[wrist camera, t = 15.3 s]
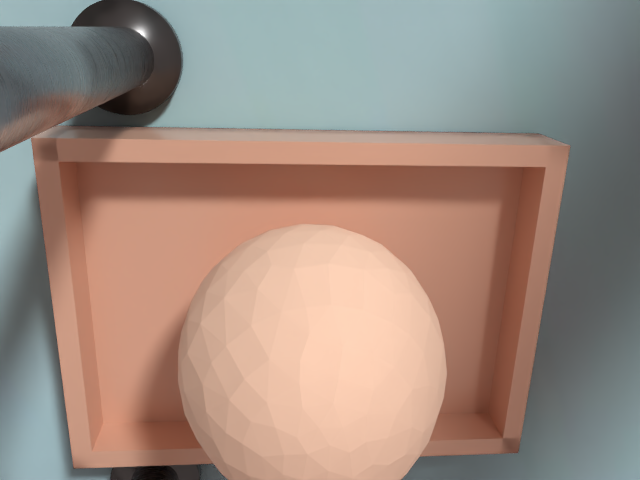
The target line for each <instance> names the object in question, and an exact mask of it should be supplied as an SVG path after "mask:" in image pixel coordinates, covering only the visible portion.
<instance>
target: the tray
mask: <svg viewBox="0 0 640 480" xmlns="http://www.w3.org/2000/svg"><path fill="white" fill-rule="evenodd" d="M31 141H32V149H33V157H34V165H35V172H36V180H37V188H38V196H39V203H40V211H41V219H42V227H43V235H44V242H45V250H46V258H47V266H48V273H49V281H50V289H51V297H52V304H53V312H54V320H55V328H56V335H57V343H58V351H59V359H60V366H61V374H62V382H63V390H64V398H65V405H66V413H67V421H68V429H69V436H70V444H71V452H72V460H73V467H74V469H76V468H105V467H133V466H162V465H190V464H213V462H212V461H211V460H210V458H209V457H208V455H207V454H206V452H205V451H204V450H203V448H202V447H201V445H200V444H199V442H198V441H197V439H196V437H195V435H194V433H193V431H192V429H191V427H190V424H189V422H188V420H187V418H186V416H185V414H184V409H183V404H182V399H181V394H180V389H179V384H178V349H179V343H180V336H181V331H182V328H183V325H184V322H185V319H186V316H187V313H188V310H189V307H190V304H191V301H192V299H193V298H194V296H195V294H196V292H197V290H198V288H199V286H200V284H201V283H202V281H203V280H204V279H205V277H206V276H207V275H208V273H209V272H210V271H211V270H212V268H213V267H214V266H215V265H216V264H218V263H219V262H220V261H221V260H222V259H223V258H224V257H225V256H227V255H228V254H229V253H230V252H231V251H233V250H234V249H235V248H236V247H238V246H239V245H240V244H241V243H243V242H246V241H248V240H250V239H252V238H254V237H256V236H259V235H261V234H263V233H265V232H267V231H269V230H273V229H278V228H283V227H288V226H293V225H298V224H315V225H333V226H336V227H339V228H342V229H346V230H349V231H352V232H355V233H358V234H361V235H363V236H365V237H367V238H369V239H372V240H374V241H376V242H378V243H380V244H382V245H383V246H384V247H385V248H386V249H388V250H389V251H390V252H391V253H392V254H393V255H394V256H396V257H397V258H398V259H399V260H400V261H401V262H403V263H404V264H405V265H406V266H407V267H408V268H409V269H410V270H411V271H412V273H413V274H414V276H415V277H416V279H417V280H418V282H419V283H420V285H421V287H422V288H423V290H424V291H425V293H426V294H427V296H428V297H429V300H430V302H431V304H432V306H433V309H434V311H435V313H436V315H437V318H438V320H439V324H440V329H441V333H442V337H443V342H444V348H445V358H446V368H447V378H446V386H445V393H444V399H443V402H442V405H441V408H440V411H439V414H438V417H437V420H436V423H435V426H434V429H433V432H432V435H431V437H430V440H429V442H428V444H427V446H426V447H425V449H424V450H423V452H422V453H421V455H420V456H447V455H476V454H505V453H518V451H519V446H520V440H521V434H522V428H523V422H524V416H525V410H526V404H527V398H528V393H529V387H530V381H531V375H532V369H533V363H534V357H535V351H536V345H537V339H538V334H539V328H540V322H541V316H542V310H543V304H544V298H545V292H546V286H547V281H548V275H549V269H550V263H551V257H552V251H553V245H554V239H555V233H556V227H557V222H558V216H559V210H560V204H561V198H562V192H563V186H564V180H565V174H566V168H567V163H568V157H569V151H570V145H567V144H565V143H562V142H559V141H557V140H554V139H552V138H549V137H547V136H544V135H541V134H535V133H475V132H415V131H355V130H295V129H235V128H176V127H116V126H55V127H53V128H50V129H48V130H46V131H44V132H42V133H40V134H38V135H36V136H34V137H32V138H31Z"/></svg>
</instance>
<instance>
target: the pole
mask: <svg viewBox="0 0 640 480" xmlns="http://www.w3.org/2000/svg"><path fill="white" fill-rule="evenodd" d="M200 474H201V468H200V464H190V465H162V466H133V467H113V469H112V473H111V480H200Z"/></svg>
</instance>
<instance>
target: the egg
mask: <svg viewBox="0 0 640 480" xmlns="http://www.w3.org/2000/svg"><path fill="white" fill-rule="evenodd" d="M446 378H447V368H446V358H445V348H444V342H443V337H442V333H441V329H440V324H439V320H438V318H437V315H436V313H435V311H434V309H433V306H432V304H431V302H430V300H429V297H428V296H427V294H426V293H425V291H424V290H423V288H422V287H421V285H420V283H419V282H418V280H417V279H416V277H415V276H414V274H413V273H412V271H411V270H410V269H409V268H408V267H407V266H406V265H405V264H404V263H403V262H401V261H400V260H399V259H398V258H397V257H396V256H394V255H393V254H392V253H391V252H390V251H389V250H388V249H386V248H385V247H384V246H383V245H382V244H380V243H378V242H376V241H374V240H372V239H369V238H367V237H365V236H363V235H361V234H358V233H355V232H352V231H349V230H346V229H342V228H339V227H336V226H333V225H315V224H298V225H293V226H288V227H283V228H278V229H273V230H269V231H267V232H265V233H263V234H261V235H259V236H256V237H254V238H252V239H250V240H248V241H246V242H243V243H241V244H240V245H239V246H238V247H236V248H235V249H234V250H233V251H231V252H230V253H229V254H228V255H227V256H225V257H224V258H223V259H222V260H221V261H220V262H219V263H218V264H216V265H215V266H214V267H213V268H212V270H211V271H210V272H209V273H208V275H207V276H206V277H205V279H204V280H203V281H202V283H201V284H200V286H199V288H198V290H197V292H196V294H195V296H194V298H193V299H192V301H191V304H190V307H189V310H188V313H187V316H186V319H185V322H184V325H183V328H182V331H181V336H180V343H179V349H178V384H179V389H180V394H181V399H182V404H183V409H184V414H185V416H186V418H187V420H188V422H189V424H190V427H191V429H192V431H193V433H194V435H195V437H196V439H197V441H198V442H199V444H200V445H201V447H202V448H203V450H204V451H205V452H206V454H207V455H208V457H209V458H210V460H211V461H212V462H213V464H214V465H215V466H216V467H217V469H218V470H219V471H220V473H221V474H222V475H224V476H225V477H226V478H227V479H228V480H401V479H402V478H403V477H404V476H405V475H406V474H407V473H408V471H409V470H410V469H411V467H412V466H413V465H414V463H415V462H416V461H417V459H418V458H419V457H420V455H421V453H422V452H423V450H424V449H425V447H426V446H427V444H428V442H429V440H430V437H431V435H432V432H433V429H434V426H435V423H436V420H437V417H438V414H439V411H440V408H441V405H442V402H443V399H444V393H445V386H446Z"/></svg>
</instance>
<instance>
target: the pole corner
mask: <svg viewBox="0 0 640 480" xmlns="http://www.w3.org/2000/svg"><path fill="white" fill-rule="evenodd" d="M182 69H183V54H182V48H181V44H180V42H179V39H178V36H177V34H176V33H175V31H174V29H173V28H172V26H171V25H170V23H169V22H168V21H167V20H166V19H165V18H164V17H163V16H162V15H161V14H160V13H159V12H157V11H156V10H155V9H153V8H152V7H150V6H148V5H146V4H143V3H141V2H138V1H134V0H102V1H99V2H96V3H94V4H92V5H90V6H89V7H87V8H86V9H85V10H84V11H82V12H81V13H80V14H79V15H78V17H77V18H76V19H75V21H74V22H73V24H72V26H71V27H0V152H2V151H4V150H6V149H8V148H10V147H12V146H14V145H16V144H18V143H20V142H23V141H25V140H27V139H29V138H31V137H33V136H35V135H37V134H39V133H42V132H44V131H46V130H48V129H50V128H52V127H54V126H56V125H58V124H61V123H63V122H65V121H67V120H69V119H71V118H73V117H75V116H77V115H79V114H82V113H84V112H86V111H88V110H90V109H92V108H94V107H96V106H99V107H100V108H102V109H104V110H107V111H110V112H112V113H117V114H122V115H136V114H142V113H145V112H148V111H150V110H153V109H155V108H156V107H158V106H159V105H161V104H162V103H163V102H165V101H166V100H167V99H168V98H169V97H170V96H171V95H172V93H173V92H174V91H175V89H176V87H177V85H178V83H179V81H180V78H181V74H182Z"/></svg>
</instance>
